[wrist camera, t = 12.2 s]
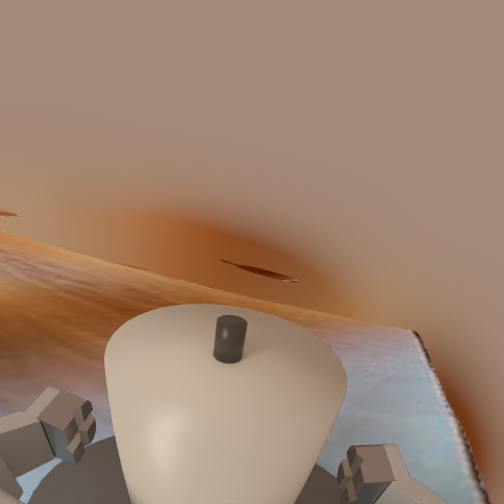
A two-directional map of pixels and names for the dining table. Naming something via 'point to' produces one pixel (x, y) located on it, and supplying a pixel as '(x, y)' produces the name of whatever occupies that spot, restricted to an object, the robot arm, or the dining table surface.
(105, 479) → the plate
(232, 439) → the candle
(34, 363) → the dining table surface
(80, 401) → the robot arm
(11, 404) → the dining table surface
